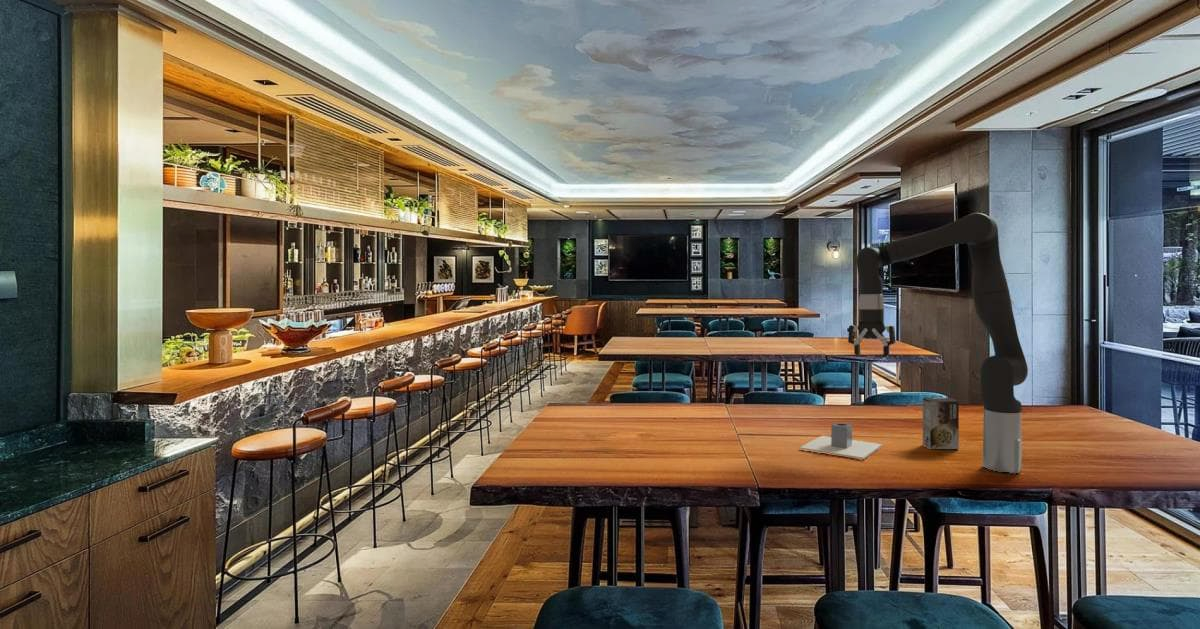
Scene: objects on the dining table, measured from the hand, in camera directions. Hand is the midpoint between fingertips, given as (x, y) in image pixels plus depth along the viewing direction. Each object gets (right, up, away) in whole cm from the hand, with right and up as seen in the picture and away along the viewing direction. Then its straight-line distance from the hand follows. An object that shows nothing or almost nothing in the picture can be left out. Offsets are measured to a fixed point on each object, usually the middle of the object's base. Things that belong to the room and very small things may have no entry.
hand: (871, 356), depth 209 cm
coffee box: (+22, -30, -2) cm, 37 cm away
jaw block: (-11, -29, -2) cm, 31 cm away
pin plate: (-11, -30, -2) cm, 32 cm away
